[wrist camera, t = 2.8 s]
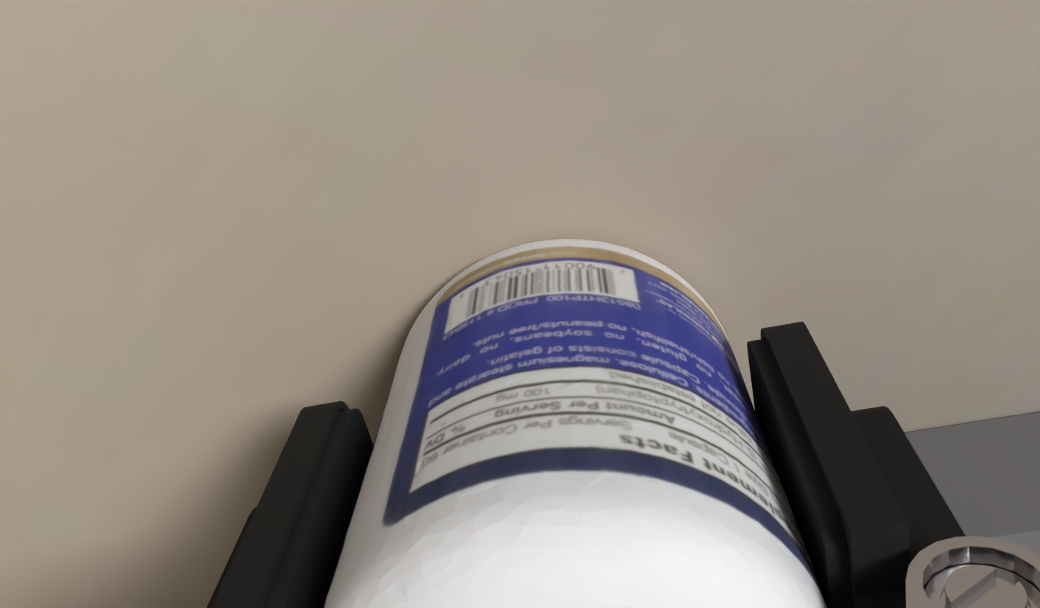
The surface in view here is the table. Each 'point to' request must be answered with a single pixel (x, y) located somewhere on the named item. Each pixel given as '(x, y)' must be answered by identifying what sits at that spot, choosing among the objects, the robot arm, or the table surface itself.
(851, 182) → the table surface
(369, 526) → the pill bottle
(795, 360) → the robot arm
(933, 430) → the scale
